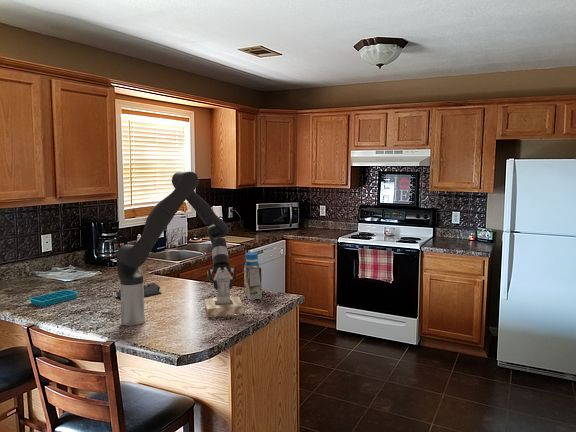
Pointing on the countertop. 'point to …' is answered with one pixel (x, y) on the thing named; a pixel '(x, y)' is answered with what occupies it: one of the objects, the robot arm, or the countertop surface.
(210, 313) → the socket board
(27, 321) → the countertop surface
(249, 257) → the beverage bottle
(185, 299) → the countertop surface
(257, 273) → the coffee box
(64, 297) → the ice cube tray
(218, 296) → the energy drink can
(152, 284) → the dark slate chunk
